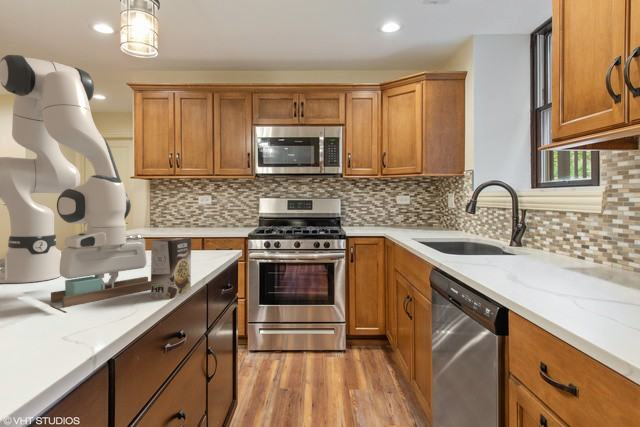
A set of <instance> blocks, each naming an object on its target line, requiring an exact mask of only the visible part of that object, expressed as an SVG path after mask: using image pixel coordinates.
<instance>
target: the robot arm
mask: <svg viewBox="0 0 640 427" xmlns="http://www.w3.org/2000/svg"><path fill="white" fill-rule="evenodd" d="M0 84H1V87H2V88H4V90H6V91H7V92H9V93H10V94H14V95H15V96H14V99H13V106H12V107H13V108H12V125H11V126H12V128H11V135H12V139H13V140H14V142H15V143H17V144H18V145H19V146H21V147H23V148H24V149H27V150H29V151H32V152H33V153H35V155H36V158H24V157H13V156H11V157H10V156H1V157H0V200H1V201H2V202H3V203H4V205H5V206H6V208H7V211H8V215H9V220H10V235H9V237H8V241H7V243H8V245H7V247H8V248H7V251H6V252H5V253H4V255H3V257H2V258H0V284H11V283H12V284H15V283H17V284H18V283H19V284H20V283H32V282H33V283H34V282H41V281H47V280H48V281H49V280H53V279H56V278H59V277H62V278H64V279H66V280H71V279H78V278H85V277H91V276H92V277H93V276H94V277H96V278H99V279H101V290H103V289H109V288H114V282H116V281H117V279H118V277H119V273H120V272H125V271H130V270H131V271H132V270H138V269H139V270H140V269H144V268H145V267H146V265H147V262H148V261H147V260H148V259H147V252H146V239H145V238H144V237H143V236H141V235H127V223H126V221H125V220H126V218H127V217H128V216H129V214H130V212H131V208H132V203H131V200H130V197H129V195H128V194H127V192H126V188H125V184H124V182H123V180H121V177H120V174H119V171H118V169H117V168H118V167H117V166H116V162H115V158H114V156H113V153H112V150H111V148H110V146H109V143H108V141H107V140H106V139H105V138H104V136H102V135H101V133H100V131H99V130H98V128H97V126H96V124H95V122H94V118H93V116H92V111H91V106H90V103H89V102H90V101H91V99H92V98H93V95H94V90H95V87H94V80H93V78H92V77H91V75H90V74H89V73H88V72H87V71H85V70H82V69H81V68H79V67H72V66H69V65H66V64H62V63H59V62H55V61H52V60H44V59H39V58H33V57H25V56H23V55H18V54H7V55H5V56H4V57H2V58H1V59H0ZM59 144H60V145H61V146H64V147H66V148H69V149H71V150H73V151H75V152H76V153H78V154H80V155H81V156H83V157H84V158H85V159H87V160H88V162H89V163H90V164H91V165H92V167H93V171H94V173H95V174H94V175H91V176H89V177H88V179H87V181H86V182H84V183H82V184H81V178H82V177H81V173H80V171H79V169H78V168H77V167H76V166H75V165H74V164H73V163H72V162H70V161H69V160H68V159H67V158H66V157H65V155H64V154H63V153H62V150H61V149H60V145H59ZM36 193H37V194H60V195H59V196H58V198H57V201H56V210H57V214H58V216H59V217H60V218H61V219H62V220H63V221H64V222H66V223H68V224H69V223H70V224H73V225H75V224H77V225H78V224H86V230H85V231H82V232H79V233H77V234H73V235H70V236H67V237H66V238H64V241H63V243H64V246H66V247H65V248H63V250H62V251H61V250H60V249H58V248H57V247H56V245H57V235H56V234H55V213H54V211H53V210H52V209H51V208H50V207H48V206H47V205H44V204H42V203H39V202H37V201H34V200H33V199H32V196H31V194H36ZM106 274H108V275H109V276H110V277H109V278H108V282H105V281H104V280H103V279H104V278H105V275H106Z"/></svg>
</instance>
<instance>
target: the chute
mask: <svg viewBox="0 0 640 427" xmlns="http://www.w3.org/2000/svg"><path fill="white" fill-rule="evenodd" d="M148 291H151V280H149V276H140V277H136V278H129V279H123V280H116V281H115V282H114V288H109V289H103V290H98V291H92V292H87V293H81V294H76V295H70V296H65V289H64V290H57V291H52V292H50V303H52V304H54V303H58V302H62V304H61V305H62V306H61V307H62V308H69V307H73V306H74V307H75V306H80V305H85V304H88V303H93V302H99V301H104V300H108V299H109V300H110V299H113V298H119V297H123V296H128V295H129V296H130V295H133V294H138V293H143V292H148ZM50 307H51V308H53V309H55V310H57V311H60V312H62V313H65V314H66V313H67V311H66V310H62V309H61V308H59V307H56V306H54V305H51V304H50Z"/></svg>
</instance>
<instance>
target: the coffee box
mask: <svg viewBox="0 0 640 427" xmlns="http://www.w3.org/2000/svg"><path fill="white" fill-rule="evenodd" d="M150 250H151V252H150V253H151V255H150V256H151V260H150V261H151V262H150V281H151V290H150V298H154V299H165V300H167V299H168V300H172V299H175V298H177V297H180V296H182V295H184V294H187V293H189V292H191V291H192V290H191V289H192V288H191V285H192V283H191V281H192V265H191V264H192V238H191V237H167V238H160V239H154V240H153V239H151V249H150Z"/></svg>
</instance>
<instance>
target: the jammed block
mask: <svg viewBox="0 0 640 427" xmlns="http://www.w3.org/2000/svg"><path fill="white" fill-rule="evenodd" d="M64 284H65V285H64V286H65V289H64V290H65V296H70V295H76V294H81V293H87V292H92V291H98V290H101V279H99V278H96V277H95V276H93V275H92V276H85V277H78V278H72V279H66V280H65V281H64Z"/></svg>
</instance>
